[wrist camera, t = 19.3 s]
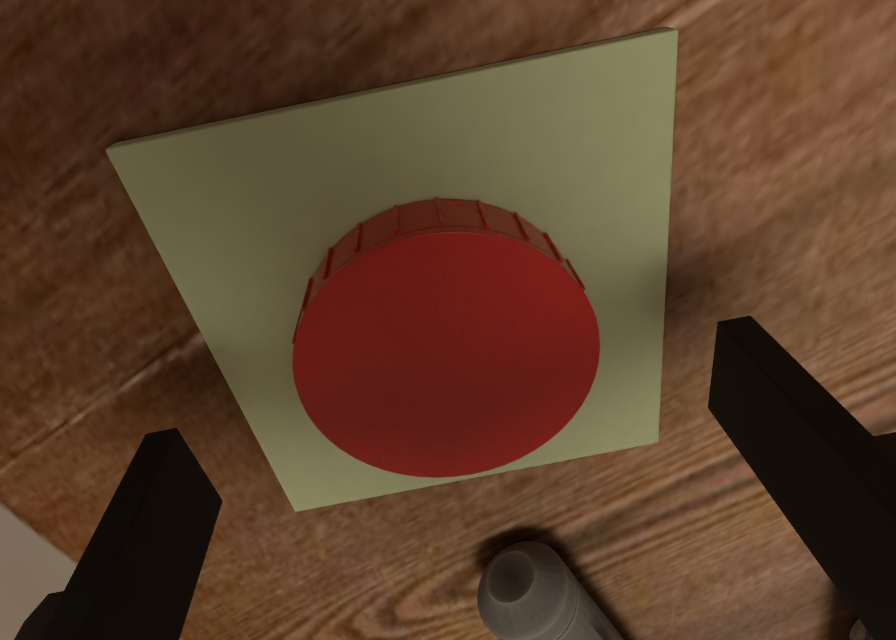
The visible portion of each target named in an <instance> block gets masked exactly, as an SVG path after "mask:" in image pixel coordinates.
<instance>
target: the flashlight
mask: <svg viewBox="0 0 896 640" xmlns="http://www.w3.org/2000/svg"><path fill="white" fill-rule="evenodd" d="M477 601H478V609H479V612H480V615H481V618H482V620H483V621H484V623H485V625H486V626H487V627H488V628H489V629H490V630H491V632H493V633H494V634H495V635H496V636H497V637H498V638H499V639H500V640H624V639H623V638H622V637H621V635H620V634H619V633H618V631H617V630H616V629H615V628H614V626H613V625H612V624H611V622H610V621H609V620H608V619H607V617H606V616H605V615H604V613H603V612H602V611H601V610H600V608H599V607H598V606H597V604H596V603H595V602H594V601H593V599H592V598H591V597H590V595H589V594H588V593H587V592H586V590H585V589H584V588H583V586H582V585H581V584H580V583H579V581H578V580H577V579H576V577H575V576H574V575H573V574H572V572H571V571H570V570H569V568H568V567H567V566H566V565H565V563H564V562H563V561H562V560H561V558H560V557H559V556H558V555H557V553H556V552H555V551H554V550H553V549H551V548H550V547H549V546H547V545H545V544H542V543H539V542H535V541H523V542H518V543H515V544H513V545H510V546H508V547H506V548H505V549H503V550H502V551H500V552H499V553H498V554H497V555H496V556H495V557H494V558H493V559H492V560H491V561H490V563H489V564H488V565H487V567H486V569H485V570H484V572H483V574H482V577H481V579H480V583H479V587H478V595H477Z"/></svg>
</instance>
